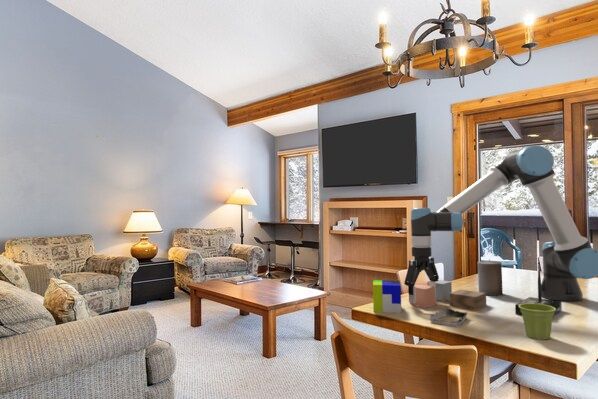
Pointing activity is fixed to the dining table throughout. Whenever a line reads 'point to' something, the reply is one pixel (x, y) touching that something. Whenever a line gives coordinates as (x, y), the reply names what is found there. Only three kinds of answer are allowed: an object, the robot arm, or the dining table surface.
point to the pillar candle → (490, 277)
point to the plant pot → (537, 320)
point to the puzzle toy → (387, 296)
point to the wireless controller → (539, 299)
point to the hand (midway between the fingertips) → (422, 300)
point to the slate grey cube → (443, 290)
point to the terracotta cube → (425, 295)
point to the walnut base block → (468, 299)
